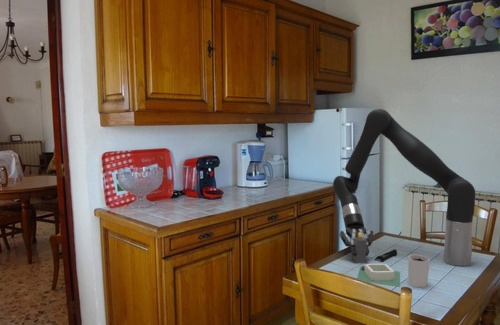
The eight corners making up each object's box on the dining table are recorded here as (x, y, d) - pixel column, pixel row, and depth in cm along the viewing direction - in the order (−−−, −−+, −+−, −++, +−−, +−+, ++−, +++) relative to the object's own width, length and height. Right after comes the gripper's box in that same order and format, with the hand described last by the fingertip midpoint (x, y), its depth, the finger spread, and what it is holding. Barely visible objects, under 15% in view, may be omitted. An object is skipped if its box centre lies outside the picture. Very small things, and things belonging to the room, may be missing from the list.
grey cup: (404, 282, 135) (405, 254, 134) (424, 283, 134) (425, 255, 133) (410, 290, 128) (411, 261, 127) (431, 291, 128) (432, 261, 127)
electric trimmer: (399, 257, 162) (400, 249, 161) (381, 265, 151) (382, 258, 151) (391, 255, 164) (391, 247, 164) (373, 263, 154) (373, 255, 154)
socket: (385, 271, 142) (385, 263, 142) (394, 280, 134) (395, 272, 134) (363, 271, 141) (364, 263, 141) (371, 280, 134) (372, 272, 133)
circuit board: (399, 274, 142) (400, 270, 142) (399, 289, 129) (399, 285, 129) (360, 269, 147) (360, 265, 147) (356, 283, 134) (356, 278, 134)
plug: (362, 261, 155) (363, 231, 154) (365, 265, 151) (367, 234, 150) (352, 261, 155) (353, 231, 153) (355, 265, 151) (356, 234, 149)
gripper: (337, 212, 158) (345, 251, 147) (371, 212, 159) (382, 250, 148) (333, 221, 164) (341, 259, 153) (366, 221, 164) (376, 259, 154)
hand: (361, 255), depth 150 cm, fingers closed on plug, 4 cm apart
